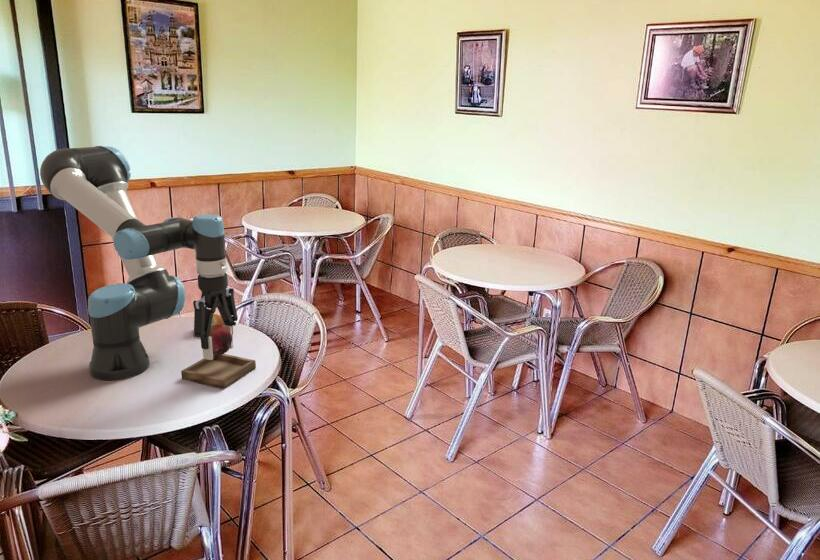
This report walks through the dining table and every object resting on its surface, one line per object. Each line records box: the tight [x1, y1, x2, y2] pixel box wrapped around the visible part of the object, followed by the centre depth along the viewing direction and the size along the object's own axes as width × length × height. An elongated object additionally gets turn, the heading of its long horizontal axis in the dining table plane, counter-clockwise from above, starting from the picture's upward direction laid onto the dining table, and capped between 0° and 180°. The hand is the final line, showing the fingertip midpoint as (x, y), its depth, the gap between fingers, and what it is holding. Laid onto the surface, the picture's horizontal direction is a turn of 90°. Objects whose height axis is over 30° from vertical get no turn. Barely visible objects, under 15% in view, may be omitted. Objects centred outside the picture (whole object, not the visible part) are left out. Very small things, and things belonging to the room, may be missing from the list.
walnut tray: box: [180, 353, 257, 390], centre depth 167 cm, size 14×14×2 cm
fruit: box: [209, 325, 233, 355], centre depth 164 cm, size 8×8×8 cm
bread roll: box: [211, 313, 226, 327], centre depth 196 cm, size 10×10×8 cm
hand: (218, 352), depth 165 cm, fingers closed on fruit, 8 cm apart
